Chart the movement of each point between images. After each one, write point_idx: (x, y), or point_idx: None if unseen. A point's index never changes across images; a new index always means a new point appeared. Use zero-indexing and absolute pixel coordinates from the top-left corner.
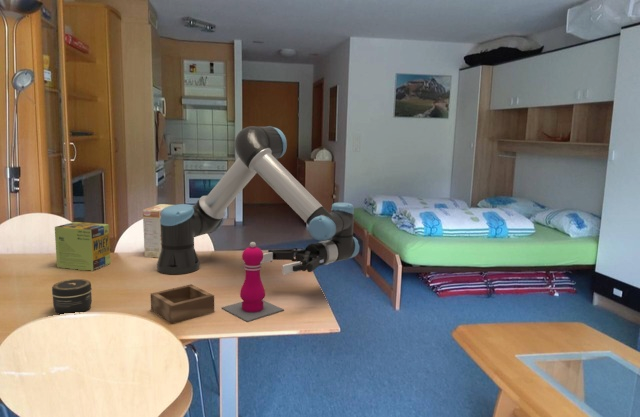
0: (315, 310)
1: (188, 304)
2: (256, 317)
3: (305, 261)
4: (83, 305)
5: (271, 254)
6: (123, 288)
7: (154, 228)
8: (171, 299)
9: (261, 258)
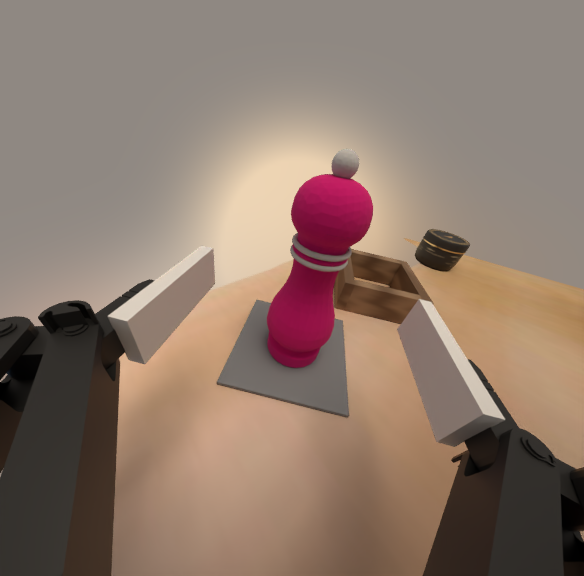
0: None
1: None
2: (251, 315)
3: (51, 318)
4: (420, 253)
5: (464, 405)
6: (510, 314)
7: None
8: (400, 287)
9: (292, 213)
